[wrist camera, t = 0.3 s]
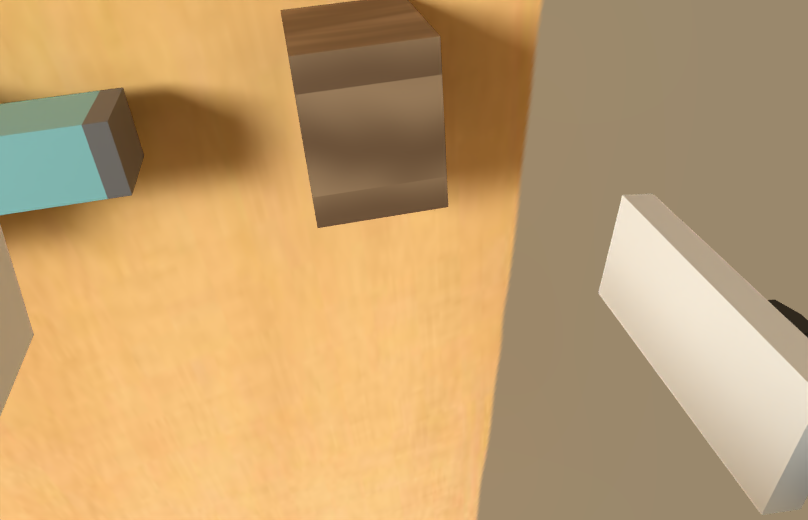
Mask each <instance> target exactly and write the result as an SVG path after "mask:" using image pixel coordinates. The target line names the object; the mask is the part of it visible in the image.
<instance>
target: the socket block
mask: <svg viewBox="0 0 808 520" xmlns="http://www.w3.org/2000/svg"><path fill="white" fill-rule="evenodd" d="M281 16H282V21H283V27H284V33H285V39H286V45H287V51H288V57H289V63H290V69H291V74H292V80H293V86H294V92H295V98H296V104H297V110H298V116H299V122H300V128H301V133H302V139H303V145H304V151H305V157H306V163H307V169H308V174H309V180H310V186H311V192H312V198H313V203H314V209H315V215H316V221H317V227H318V228H321V227H327V226H333V225H339V224H346V223H352V222H358V221H364V220H370V219H376V218H383V217H389V216H395V215H401V214H407V213H413V212H420V211H426V210H432V209H438V208H444V207H448V192H447V170H446V149H445V127H444V106H443V84H442V63H441V41H440V35H439V34H438V33H437V32H436V31H435V30H434V29H433V28H432V26H431V25H430V24H429V23H428V22H427V21H426V20H425V19H424V17H423V16H422V15H421V14H420V13H419V12H418V11H417V10H416V8H415V7H414V6H413V5H412V4H411V3H410V2H409V1H408V0H360V1H351V2H343V3H335V4H327V5H319V6H311V7H303V8H295V9H287V10H281Z"/></svg>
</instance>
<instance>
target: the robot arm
mask: <svg viewBox="0 0 808 520" xmlns="http://www.w3.org/2000/svg"><path fill="white" fill-rule="evenodd" d="M598 293H599V295H600V296H601V297H602V299H603V300H604V301H605V303H606V304H607V306H608V307H609V308H610V310H611V311H612V312H613V314H614V315H615V316H616V318H617V319H618V320H619V322H620V323H621V325H622V326H623V327H624V329H625V330H626V331H627V333H628V334H629V336H630V337H631V338H632V340H633V341H634V342H635V344H636V345H637V346H638V348H639V349H640V350H641V352H642V353H643V355H644V356H645V357H646V359H647V360H648V361H649V363H650V364H651V365H652V367H653V368H654V369H655V371H656V372H657V374H658V375H659V376H660V378H661V379H662V380H663V382H664V383H665V384H666V386H667V387H668V389H669V390H670V391H671V393H672V394H673V395H674V397H675V398H676V399H677V401H678V402H679V403H680V405H681V406H682V407H683V409H684V410H685V412H686V413H687V414H688V416H689V417H690V418H691V420H692V421H693V423H694V424H695V425H696V427H697V428H698V429H699V431H700V432H701V433H702V435H703V436H704V437H705V439H706V440H707V441H708V443H709V444H710V445H711V447H712V448H713V450H714V451H715V452H716V454H717V455H718V456H719V457H720V459H721V461H722V462H723V463H724V465H725V466H726V467H727V469H728V470H729V471H730V473H731V474H732V476H733V477H734V478H735V479H736V481H737V482H738V484H739V485H740V486H741V488H742V489H743V490H744V492H745V493H746V494H747V496H748V497H749V498H750V500H751V501H752V503H753V504H754V505H755V507H756V508H757V510H758V511H759V512H760V513H761V515H764V514H771V513H778V512H785V511H792V510H798V509H801V507H802V505H803V504H804V502H805V500H806V498H807V496H808V320H807V319H805V318H804V317H803V316H802V315H801V314H799V313H798V312H796V311H794V310H792V309H791V308H789V307H787V306H785V305H783V304H782V303H780V302H778V301H776V300H767V299H765V298H764V297H763V296H762V295H761V294H760V293H759V292H758V291H757V290H756V289H755V288H754V287H753V286H751V285H750V284H749V283H748V282H747V281H746V280H745V279H744V278H743V277H742V276H741V275H740V274H738V272H736V271H735V270H734V269H733V268H732V267H731V266H730V265H729V264H728V263H727V262H726V261H725V260H724V259H722V258H721V257H720V256H719V255H718V254H717V253H716V252H715V251H714V250H713V249H712V248H711V247H710V246H709V245H707V244H706V243H705V242H704V241H703V240H702V239H701V238H700V237H699V236H698V235H697V234H696V233H695V232H694V231H692V230H691V229H690V228H689V227H688V226H687V225H686V224H685V223H684V222H683V221H682V220H681V219H680V218H678V217H677V216H676V215H675V214H674V213H673V212H672V211H671V210H670V209H669V208H667V206H666V205H665V204H663V203H662V202H661V201H660V200H659V199H658V198H657V197H656V196H655V195H654V194H635V195H623V196H622V199H621V203H620V208H619V212H618V215H617V219H616V224H615V228H614V232H613V236H612V240H611V244H610V248H609V252H608V256H607V260H606V264H605V268H604V272H603V276H602V280H601V284H600V288H599V292H598ZM33 335H34V334H33V331H32V327H31V324H30V321H29V317H28V314H27V311H26V307H25V304H24V301H23V297H22V294H21V291H20V288H19V284H18V281H17V278H16V274H15V271H14V268H13V264H12V261H11V258H10V254H9V251H8V248H7V245H6V241H5V238H4V235H3V231H2V228H1V225H0V415H1V413H2V411H3V408H4V406H5V403H6V401H7V398H8V396H9V394H10V391H11V389H12V386H13V384H14V381H15V379H16V376H17V374H18V372H19V369H20V367H21V364H22V362H23V359H24V357H25V355H26V352H27V350H28V347H29V345H30V342H31V340H32V338H33Z"/></svg>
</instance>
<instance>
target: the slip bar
mask: <svg viewBox="0 0 808 520" xmlns="http://www.w3.org/2000/svg"><path fill="white" fill-rule="evenodd" d="M143 158H144V153H143V150H142V147H141V144H140V141H139V137H138V134H137V131H136V128H135V125H134V121H133V118H132V115H131V112H130V108H129V105H128V102H127V99H126V96H125V92H124V89H123V88H116V89H108V90H101V91H93V92H86V93H79V94H71V95H64V96H56V97H49V98H41V99H34V100H26V101H19V102H11V103H4V104H0V215H5V214H11V213H18V212H25V211H31V210H38V209H44V208H51V207H58V206H64V205H71V204H77V203H84V202H91V201H97V200H104V199H110V198H117V197H123V196H130V195H132V193H133V190H134V187H135V184H136V180H137V177H138V174H139V171H140V167H141V164H142V161H143Z"/></svg>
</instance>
